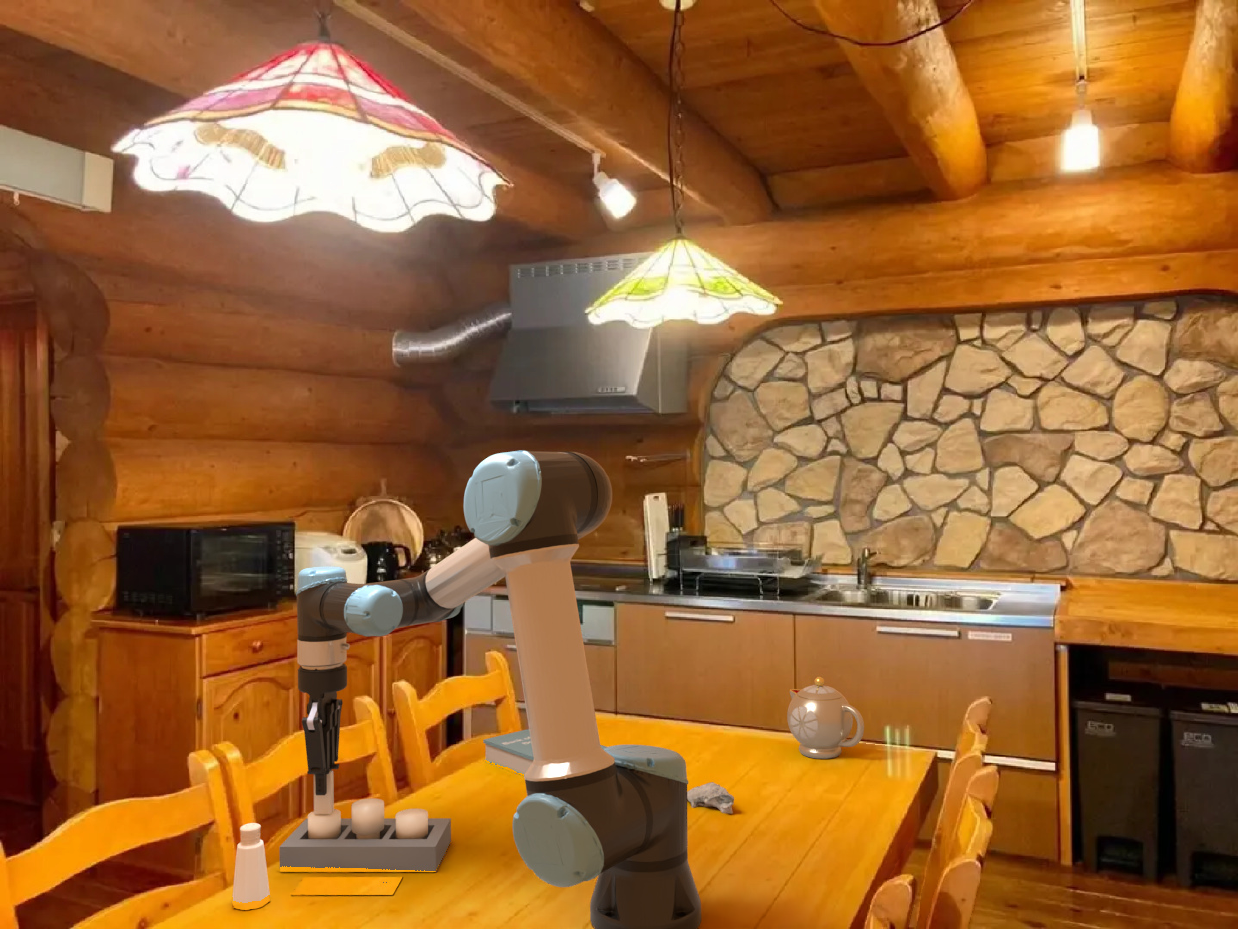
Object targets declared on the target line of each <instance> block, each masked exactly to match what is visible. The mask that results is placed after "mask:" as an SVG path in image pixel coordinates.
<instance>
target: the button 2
mask: <svg viewBox="0 0 1238 929" xmlns="http://www.w3.org/2000/svg"><path fill="white" fill-rule="evenodd" d="M395 818H396V839H427V838H428V818H429V813H428V811H427V810H426V809H423V808H408V809H403V810H400V811H398V812H397V813H396V814H395Z"/></svg>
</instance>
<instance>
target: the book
mask: <svg viewBox="0 0 1238 929" xmlns="http://www.w3.org/2000/svg"><path fill="white" fill-rule="evenodd" d="M482 743H483V744H485V760H487V761H489V762H490V763H492V762H493V763H495V765H497V764H498V765H500V766H503V767H508V768H510V769H512V770H514V771H516V772H517V773H522V774H524V775H525V773H526V772H527V770H528V769H529V767H530V766H531V764H532V763H533V760H534V757H533V750H532V744H531V738H530V731H529V728H528V729H523V730H519V731H514V732H511V733H506V734H502V735H501V734H500V735H497V736H494V737H489V738H484V739H483V742H482ZM600 746H601V748H602V749H603V750H604V749H605V748H607V747H608V746H605V745H604V744H603V745H601V744H600Z"/></svg>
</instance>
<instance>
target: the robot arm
mask: <svg viewBox="0 0 1238 929" xmlns="http://www.w3.org/2000/svg"><path fill="white" fill-rule="evenodd" d="M463 495H464V496H463V514H464V515H463V516H464V520H465V523H466V525H467V528H468V530H469V531H470V533H472V534H473V536H474V538H473V539H472V540H470V541H469V542H467V543H466V544H464V545H463V546H461V547H459V548H458V549H457V550H455V551H453V553H451V554H449V555H448V556H446V557H445V558H443V559H442V560H441V561H439V562H438V563H436V564H435V565H434V566H432V567H430V569H428V570H426V571H425V572H422V573H421V574H420V575H418V576H415V577H408V578H401V579H395V580H385V581H378V582H369V583H355V582H354V583H352V582H348V578H347V572H346V569H345V568H343V567H341V566H314V567H306V568H304V569H301V570H300V571H299V572H298V573H297V574H298V575H297V589H296V590H297V591H296V593H295V597H296V614H297V615H296V620H297V622H296V623H297V625H296V626H297V640H296V641H297V647H296V649H297V652H296V654H297V657H296V658H297V659H296V660H297V664H298V665H299V666H300V667H299V668H298V669H297V689H298V691H299V692H301V693H303V694H305V693H306V694H307V695H308V696H309V697H308V703H307V704H306V715H308V716H307V717H305V716H304V717H302V720H301V725H302V729H303V732H304V740H305V741H304V742H305V743H304V744H305V750H306V753H305V754H306V762H307V773H306V774H308V775H313V811H314V814H332V813H333V811H334V809H335V802H334V801H335V799H334V798H335V797H334V795H335V792H334V790H335V788H334V782H335V781H334V780H335V779H334V777H335V776H334V770H339V768H340V764H339V763H336V762H338V761H339V748H340V732H341V730H340V729H341V715H342V708H343V699H342V698H341V699H339V698H337V697H338V693H337V692H339V691H342V690H344V689H346V687H347V686H348V666H347V665H346V663H345V662H346V661H347V660H348V659H347V658H348V656H347V654H348V653H347V650H349V649H350V647H351V645H350V643H347V636H348V633H351V634H356V635H359V636H364V637H368V638H369V637H384V636H388V635H389V634H390V633H392V632H393V631H394V630H396V629H400V628H404V627H409V626H414V625H415V626H416V625H422V624H428V623H439V622H442V621H445V620H447V619H451V618H454V617H456V616H457V615H459V613H460V612H461V609H462V608H463V606H464V603H465V602H467V601H469V600H470V599H472V598H473V597H475V596H477V595H478V594H480V593H481V592H483V591H484V590H486V589H487V588H488V589H489V587H492V586H493V585H495V584H496V583H497V582H499V581H501V580H503V579H504V578H505V584H506V589H507V590H506V592H507V597H508V604H509V609H510V616H511V622H512V630H513V636H514V640H515V648H516V653H517V654H516V655H517V659H518V666H519V674H520V680H521V684H522V685H521V687H522V691H523V699H524V705H525V712H526V718H527V724H528V729H529V731H530V738H531V744H532V750H533V757H534V760H533V763H532V764H531V766H530V767H529V769H528V770H527V772H526V773H525V775H524V777H523V778H524V781H525V782H524V783H525V788H526V789H525V790H526V797H525V798H523V800H521V802H520V803H519V804H518V805H517V807H516V812H515V813H514V814H513V816H512V835H513V840H514V843H515V846H516V849H517V852H518V853H519V856H520V857H521V859H522V861H523V862H524V864H525V865H526V867H527V868H528V869H529V870H532V872H533V873H534V874H535V875H536V877H537V878H539V879H540V880H541V881H543V882H544V883H546V884H548V885H552V886H554V887H557V888H569V887H575V886H577V885H578V884H581V883H583V882H589V881H591V880H594V879H596V878H597V879H596V882H595V886H594V888H593V893H592V895H591V899H590V904H589V906H590V907H589V908H590V911H589V912H590V914H589V916H590V924H591V925H592V927H593V928H594V929H698V927H699V926H700V924H701V922H702V902H701V898H700V895H699V892H698V889H697V886H696V883H695V879H694V877H693V874H692V871H691V867H690V864H689V860H688V859H689V858H688V857H689V856H688V855H689V854H688V846H689V845H688V798H687V792H688V785H689V780H688V776H687V762H686V760H685V758H684V757H683V756H682V755H681V754H680V753H678V752H677V751H675V750H672V749H668V748H664V747H660V746H653V745H646V744H645V745H644V744H617V745H615V744H614V745H611V746H606V747H607V748H605V749H604V750H603V749H602V748H601V746H600V745H601V742H600V734H599V729H598V724H597V723H598V722H597V718H596V711H595V705H594V700H593V699H594V698H593V692H592V687H591V681H590V674H589V668H588V663H587V658H586V650H585V646H584V645H585V644H584V639H583V633H582V627H581V620H580V615H579V609H578V602H577V596H576V589H575V584H574V578H573V572H572V567H571V566H572V565H571V561H572V558H573V556H574V555H575V554H576V552H577V550H578V549H579V548H580V544H579V540H581V539H582V538H584V537H586V536H587V535H589V534H590V533H592V532H594V531H595V530H597V529H598V527H600V526H601V524H603V523H604V521H605V520H606V519H607V517H608V514H609V512H610V510H611V507H612V503H613V488H612V483H611V480H610V477H609V476H608V474H607V473H606V471H605V469H604V468H603V467H602V465H600V463H599V462H597V461H596V460H595V459H593V458H592V457H590V456H588V455H586V454H585V453H584V454H583V453H580V452H576V451H537V450H535V451H534V450H524V449H522V450H515V451H514V450H513V451H508V452H507V451H506V452H500V453H499V452H498V453H495V454H492V455H489V456H488V457H487V458H485V459H484V460H482V461H481V462H480V463H479V464H478V465H477V466H476V467H475V469H474V470H473V473H472V475H471V477H469V479H468V481H467V484H466V487H465V490H464V494H463Z"/></svg>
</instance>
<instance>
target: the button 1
mask: <svg viewBox="0 0 1238 929" xmlns="http://www.w3.org/2000/svg"><path fill="white" fill-rule="evenodd" d="M341 815H342V814H341V811H340V810H339V809H337V808H334V811H333V813H332V814H314V810H313V811H311V812H310V813H308V815H307V819H308V839H338V838H339V837H340V835H341V819H342V818H341Z"/></svg>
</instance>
